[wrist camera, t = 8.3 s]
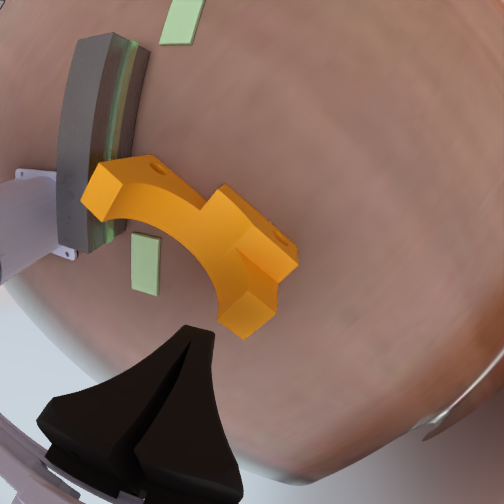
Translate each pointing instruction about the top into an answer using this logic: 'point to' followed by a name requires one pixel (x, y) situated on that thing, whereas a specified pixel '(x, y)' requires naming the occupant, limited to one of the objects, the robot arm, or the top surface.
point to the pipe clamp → (202, 234)
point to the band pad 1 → (145, 263)
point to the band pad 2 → (181, 22)
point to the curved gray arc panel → (95, 131)
